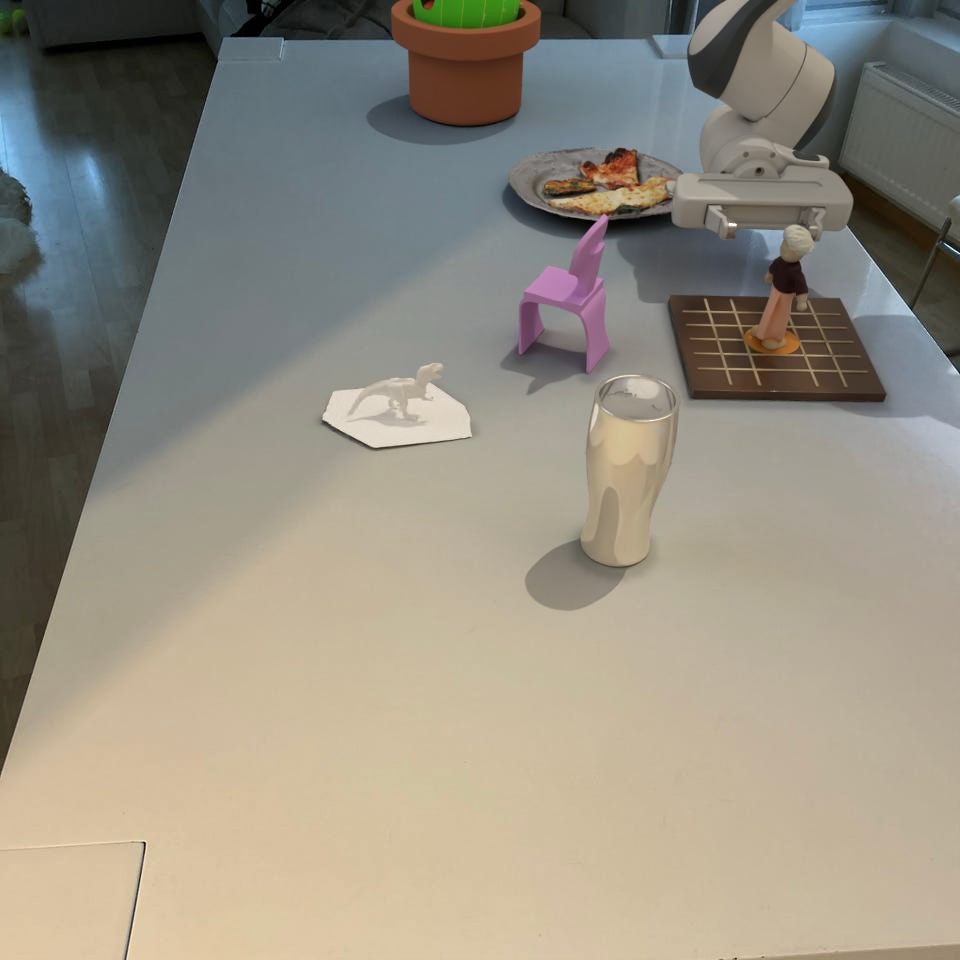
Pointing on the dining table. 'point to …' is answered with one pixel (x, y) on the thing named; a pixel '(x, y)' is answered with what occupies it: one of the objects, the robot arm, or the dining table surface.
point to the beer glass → (627, 464)
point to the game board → (772, 351)
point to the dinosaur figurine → (399, 411)
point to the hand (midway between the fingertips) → (772, 234)
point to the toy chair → (571, 295)
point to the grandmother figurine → (784, 287)
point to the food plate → (595, 183)
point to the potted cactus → (465, 56)
